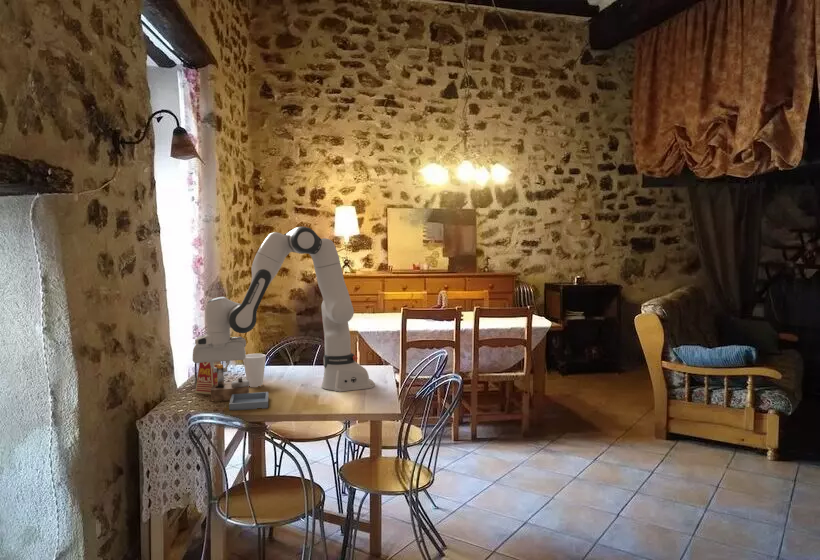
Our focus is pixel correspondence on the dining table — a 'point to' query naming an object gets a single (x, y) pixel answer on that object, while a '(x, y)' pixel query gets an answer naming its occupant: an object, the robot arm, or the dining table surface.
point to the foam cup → (255, 369)
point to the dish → (249, 401)
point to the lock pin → (220, 376)
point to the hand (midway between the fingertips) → (220, 372)
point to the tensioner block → (229, 389)
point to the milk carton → (206, 378)
